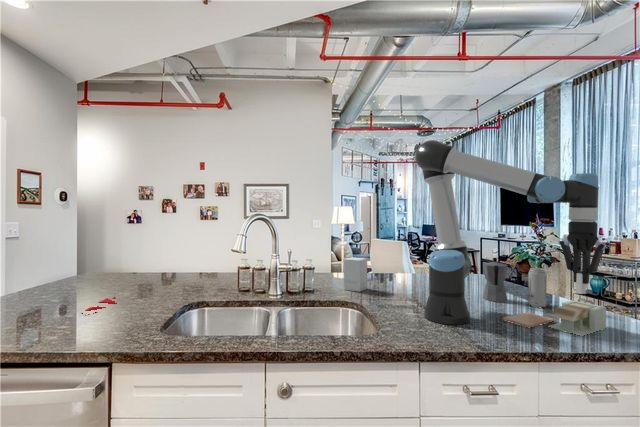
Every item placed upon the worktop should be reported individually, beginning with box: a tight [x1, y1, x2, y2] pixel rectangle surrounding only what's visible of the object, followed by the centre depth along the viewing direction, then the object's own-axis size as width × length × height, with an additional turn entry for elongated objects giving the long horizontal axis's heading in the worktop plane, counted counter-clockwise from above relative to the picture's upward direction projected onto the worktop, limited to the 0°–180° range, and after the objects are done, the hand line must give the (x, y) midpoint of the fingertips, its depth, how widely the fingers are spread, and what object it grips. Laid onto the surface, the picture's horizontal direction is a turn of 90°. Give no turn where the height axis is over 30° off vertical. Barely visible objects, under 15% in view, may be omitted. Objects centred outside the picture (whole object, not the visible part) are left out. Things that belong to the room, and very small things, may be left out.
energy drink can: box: [527, 267, 547, 308], centre depth 136 cm, size 6×6×15 cm
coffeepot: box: [482, 257, 508, 303], centre depth 145 cm, size 15×9×18 cm, turn 156°
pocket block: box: [548, 300, 607, 337], centre depth 110 cm, size 15×9×7 cm, turn 118°
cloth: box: [84, 296, 117, 311], centre depth 135 cm, size 26×14×2 cm, turn 177°
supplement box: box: [342, 256, 368, 293], centre depth 166 cm, size 9×9×15 cm
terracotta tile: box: [502, 311, 555, 328], centre depth 117 cm, size 14×9×1 cm, turn 118°
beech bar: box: [554, 303, 593, 321], centre depth 109 cm, size 12×5×3 cm, turn 118°
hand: (580, 293), depth 112 cm, fingers closed
